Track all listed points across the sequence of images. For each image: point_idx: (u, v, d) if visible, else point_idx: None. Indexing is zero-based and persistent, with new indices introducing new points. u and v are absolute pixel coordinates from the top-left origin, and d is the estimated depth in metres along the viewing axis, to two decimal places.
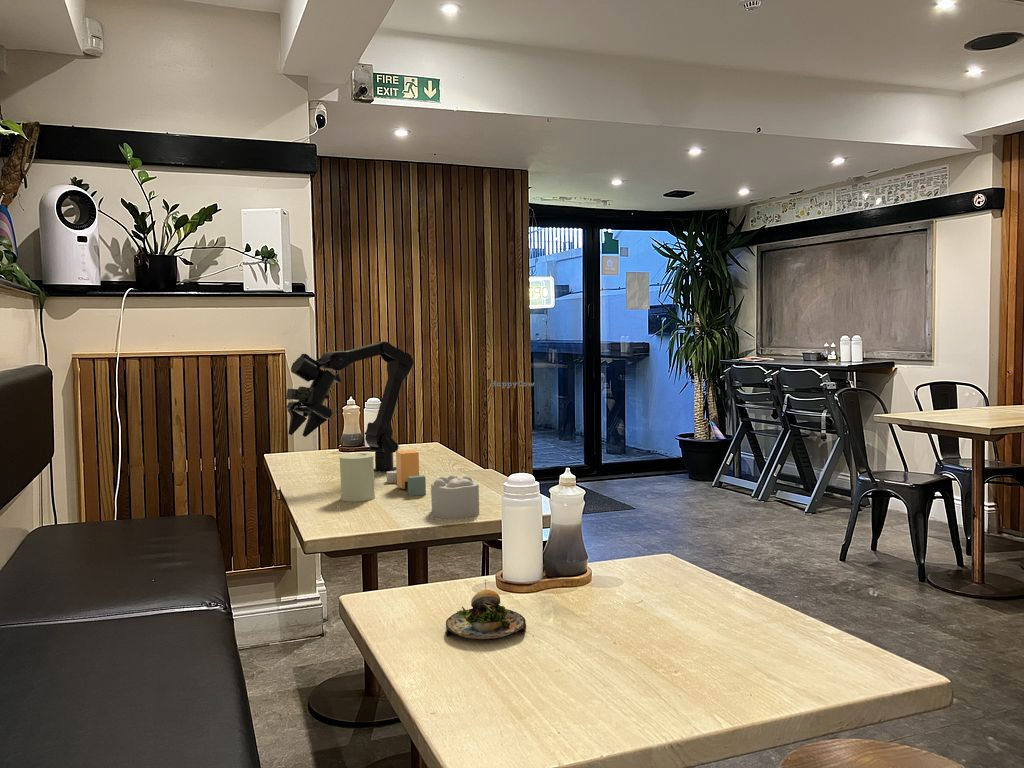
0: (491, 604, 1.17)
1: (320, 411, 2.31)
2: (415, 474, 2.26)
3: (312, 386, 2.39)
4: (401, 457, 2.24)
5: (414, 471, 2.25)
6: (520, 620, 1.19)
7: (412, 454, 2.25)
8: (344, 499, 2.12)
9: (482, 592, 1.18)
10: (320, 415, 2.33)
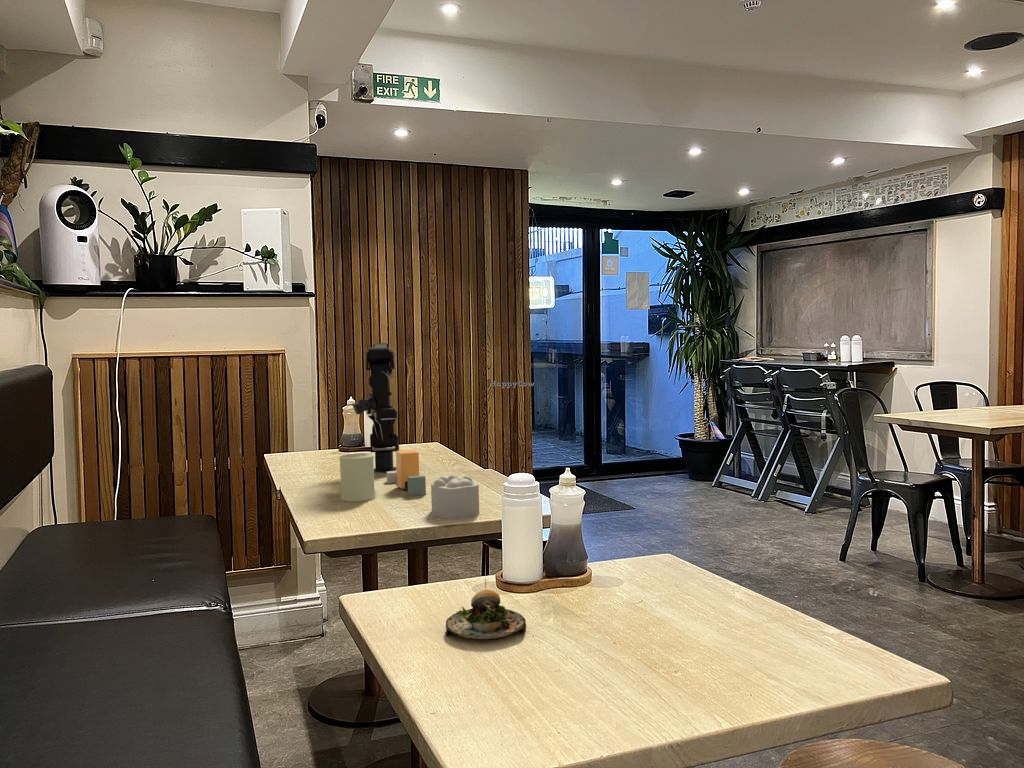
0: (491, 604, 1.17)
1: (383, 417, 2.34)
2: (415, 474, 2.26)
3: (371, 391, 2.41)
4: (401, 457, 2.24)
5: (414, 471, 2.25)
6: (520, 620, 1.19)
7: (412, 454, 2.25)
8: (344, 499, 2.12)
9: (482, 592, 1.18)
10: (386, 419, 2.36)
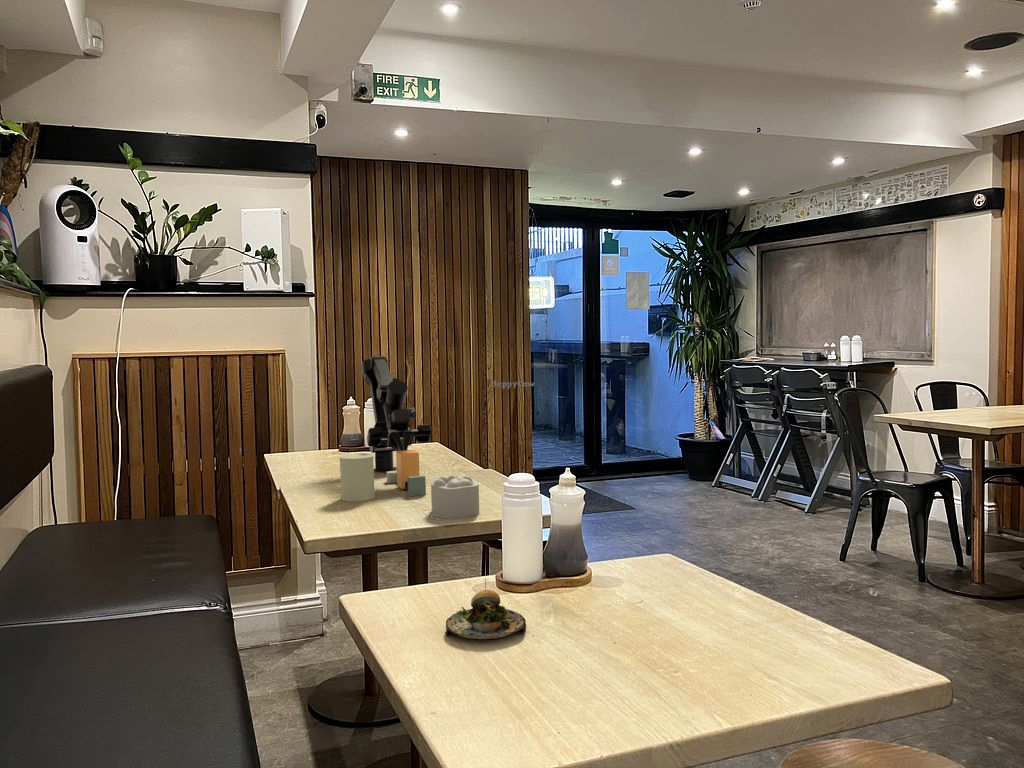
0: (491, 604, 1.17)
1: None
2: (416, 474, 2.25)
3: None
4: (401, 457, 2.24)
5: (414, 471, 2.25)
6: (520, 620, 1.19)
7: (412, 454, 2.25)
8: (344, 499, 2.12)
9: (482, 592, 1.18)
10: None
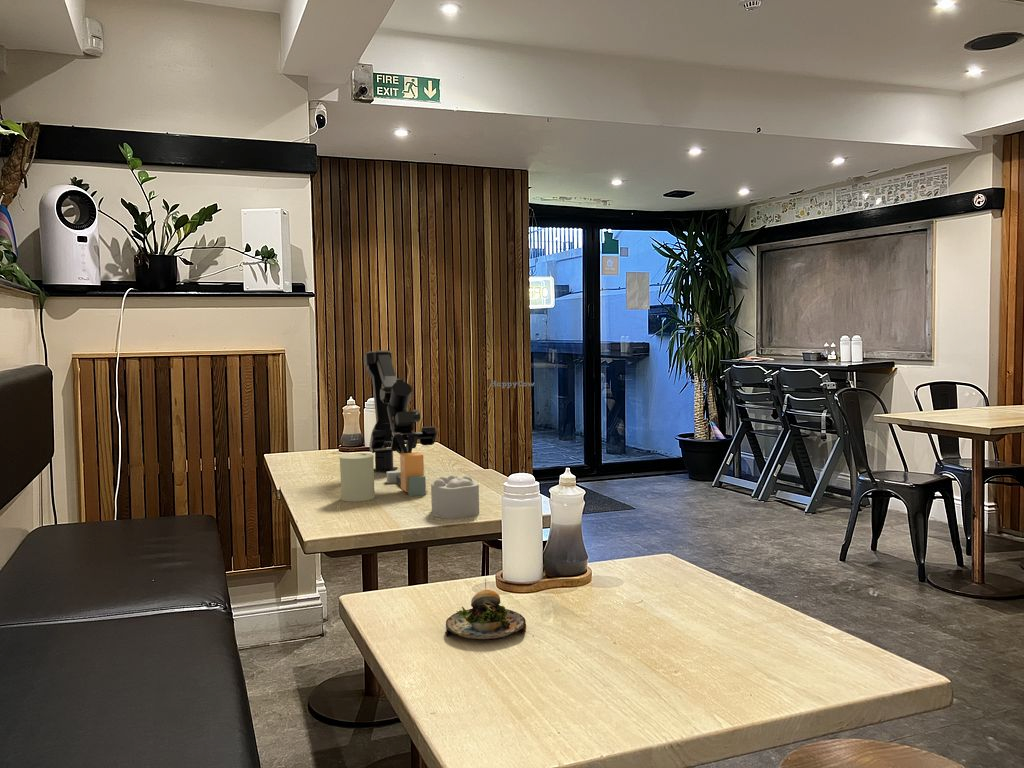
0: (491, 604, 1.17)
1: None
2: None
3: None
4: (405, 460, 2.19)
5: (419, 474, 2.21)
6: (520, 620, 1.19)
7: (417, 457, 2.20)
8: (344, 499, 2.12)
9: (482, 592, 1.18)
10: None
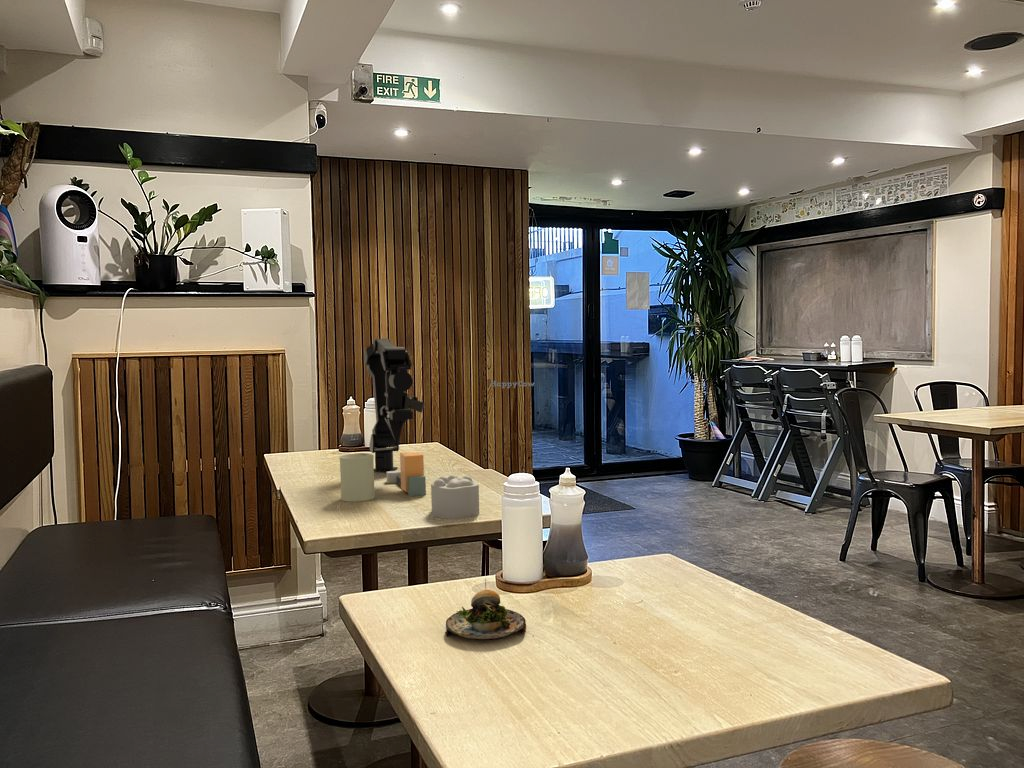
0: (491, 604, 1.17)
1: None
2: None
3: None
4: (405, 460, 2.19)
5: (419, 474, 2.21)
6: (520, 620, 1.19)
7: (417, 457, 2.20)
8: (344, 499, 2.12)
9: (482, 592, 1.18)
10: None
